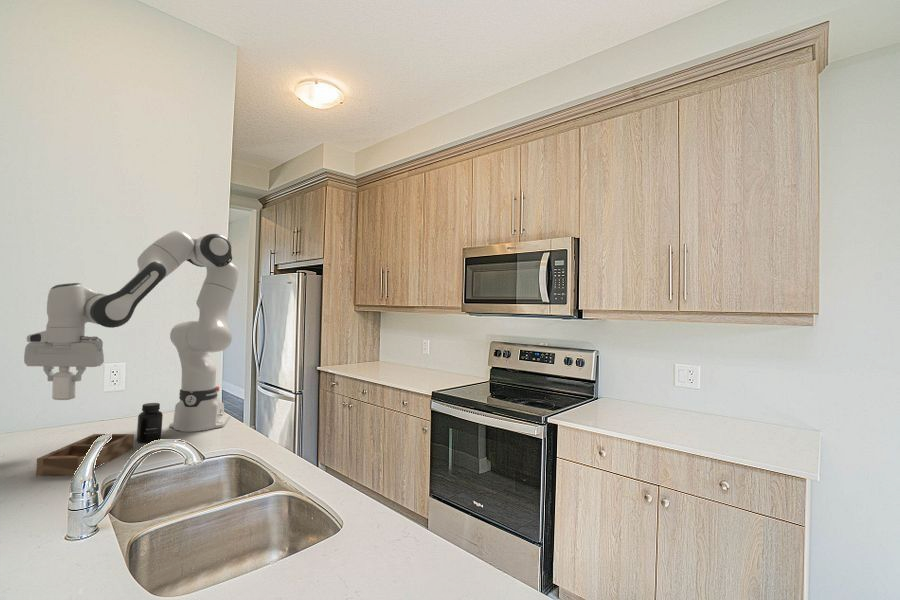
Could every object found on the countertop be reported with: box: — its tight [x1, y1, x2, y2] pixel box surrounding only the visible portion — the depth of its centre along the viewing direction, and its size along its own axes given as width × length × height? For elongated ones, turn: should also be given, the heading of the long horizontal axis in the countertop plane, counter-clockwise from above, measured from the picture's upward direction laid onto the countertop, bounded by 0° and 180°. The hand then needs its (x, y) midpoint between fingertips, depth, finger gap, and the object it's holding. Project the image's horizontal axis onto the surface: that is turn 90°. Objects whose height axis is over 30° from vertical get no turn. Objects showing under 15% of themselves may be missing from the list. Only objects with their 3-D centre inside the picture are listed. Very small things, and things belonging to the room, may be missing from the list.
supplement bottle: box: [136, 402, 164, 444], centre depth 145 cm, size 7×7×12 cm
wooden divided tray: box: [35, 433, 135, 476], centre depth 125 cm, size 22×12×5 cm, turn 7°
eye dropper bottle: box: [52, 367, 76, 401], centre depth 133 cm, size 4×6×12 cm
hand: (64, 381), depth 133 cm, fingers closed on eye dropper bottle, 5 cm apart
